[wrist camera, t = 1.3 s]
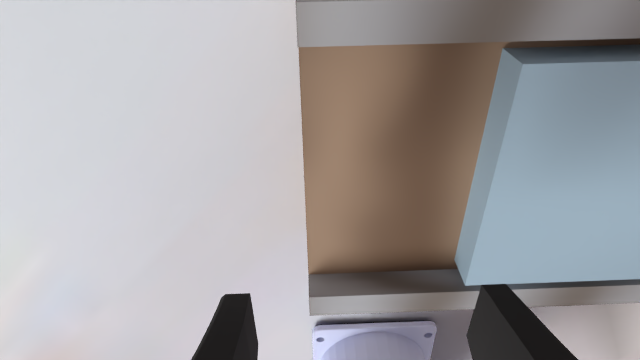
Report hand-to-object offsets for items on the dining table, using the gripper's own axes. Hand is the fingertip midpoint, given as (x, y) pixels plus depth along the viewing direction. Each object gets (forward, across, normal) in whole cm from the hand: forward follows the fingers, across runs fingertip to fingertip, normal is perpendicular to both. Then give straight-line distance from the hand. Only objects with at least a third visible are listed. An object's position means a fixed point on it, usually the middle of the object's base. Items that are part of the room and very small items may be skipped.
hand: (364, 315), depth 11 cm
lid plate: (+6, -10, 0) cm, 12 cm away
